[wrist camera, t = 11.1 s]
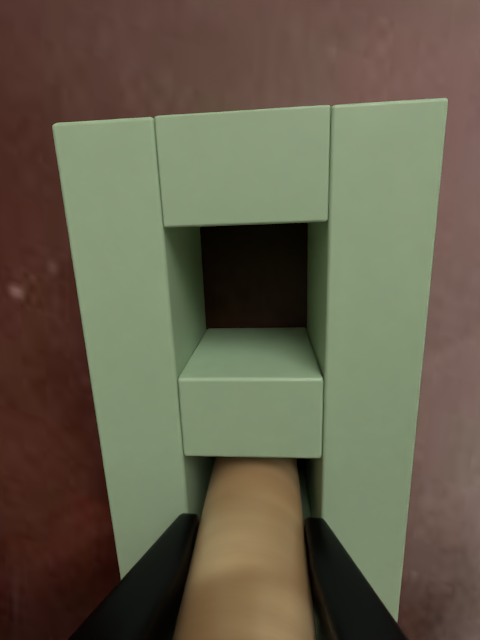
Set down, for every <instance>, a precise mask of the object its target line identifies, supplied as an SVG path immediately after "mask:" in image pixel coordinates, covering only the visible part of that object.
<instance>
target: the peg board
mask: <svg viewBox="0 0 480 640" xmlns="http://www.w3.org/2000/svg"><path fill="white" fill-rule="evenodd" d="M447 107H448V99H446V98H435V99H419V100H403V101H388V102H372V103H357V104H341V105H334V106H332V107H331V108H330V106H329V105H319V106H303V107H288V108H272V109H257V110H241V111H226V112H210V113H195V114H179V115H163V116H156V117H155V119H154V118H151V117H142V118H126V119H111V120H95V121H80V122H64V123H55V124H53V127H52V129H53V135H54V142H55V149H56V155H57V162H58V168H59V175H60V182H61V188H62V195H63V201H64V208H65V215H66V221H67V228H68V234H69V241H70V247H71V254H72V261H73V267H74V274H75V280H76V287H77V294H78V300H79V307H80V313H81V320H82V327H83V333H84V340H85V346H86V353H87V359H88V366H89V373H90V379H91V386H92V392H93V399H94V406H95V412H96V419H97V425H98V432H99V439H100V445H101V452H102V458H103V465H104V471H105V478H106V485H107V491H108V498H109V504H110V511H111V518H112V524H113V531H114V537H115V544H116V551H117V557H118V564H119V570H120V577H121V580H122V578H123V577H124V576H125V575H126V574H127V573H128V572H129V571H130V569H131V568H132V567H133V566H134V565H135V564H136V563H137V562H138V561H139V559H140V558H141V557H142V556H143V555H144V554H145V553H146V552H147V551H148V549H149V548H150V547H151V546H152V545H153V544H154V543H155V542H156V540H157V539H158V538H159V537H160V536H161V535H162V534H163V533H164V532H165V530H166V529H167V528H168V527H169V526H170V525H171V524H172V523H173V522H174V520H175V519H176V518H177V517H178V516H179V515H180V514H182V513H194V514H197V515H198V516H199V522H200V519H201V515H202V511H203V506H204V502H205V498H206V494H207V489H208V485H209V481H210V477H211V472H212V468H213V464H214V457H262V458H305V470H304V469H298V475H299V484H300V493H301V502H302V511H303V520H304V529H305V519H306V518H307V517H321V518H323V519H324V520H325V521H326V522H327V524H328V525H329V527H330V528H331V529H332V531H333V532H334V534H335V535H336V537H337V538H338V539H339V541H340V542H341V544H342V545H343V547H344V548H345V549H346V551H347V552H348V554H349V555H350V557H351V558H352V559H353V561H354V562H355V564H356V565H357V567H358V568H359V569H360V571H361V572H362V574H363V575H364V577H365V578H366V579H367V581H368V582H369V584H370V585H371V587H372V588H373V589H374V591H375V592H376V594H377V595H378V597H379V598H380V599H381V601H382V602H383V604H384V605H385V607H386V608H387V609H388V611H389V612H390V614H391V615H392V617H393V618H394V619H395V621H396V622H397V620H398V610H399V600H400V589H401V579H402V569H403V559H404V548H405V538H406V528H407V518H408V507H409V497H410V487H411V477H412V466H413V456H414V446H415V436H416V425H417V415H418V405H419V395H420V384H421V374H422V364H423V354H424V343H425V333H426V323H427V313H428V302H429V292H430V282H431V272H432V261H433V251H434V241H435V230H436V220H437V210H438V200H439V189H440V179H441V169H442V159H443V148H444V138H445V128H446V118H447ZM283 223H308V260H307V329H306V328H304V327H289V328H209V329H207V330H206V316H205V300H204V284H203V268H202V251H201V235H200V227H201V226H229V225H256V224H283Z"/></svg>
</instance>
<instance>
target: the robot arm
mask: <svg viewBox="0 0 480 640" xmlns="http://www.w3.org/2000/svg"><path fill="white" fill-rule="evenodd" d="M199 523H200V522H199V516H198V515H197V514H194V513H182V514H180V515H179V516H178V517H177V518H176V519H175V520H174V522H173V523H172V524H171V525H170V526H169V527H168V528H167V529H166V530H165V532H164V533H163V534H162V535H161V536H160V537H159V538H158V539H157V540H156V542H155V543H154V544H153V545H152V546H151V547H150V548H149V549H148V551H147V552H146V553H145V554H144V555H143V556H142V557H141V558H140V559H139V561H138V562H137V563H136V564H135V565H134V566H133V567H132V568H131V569H130V571H129V572H128V573H127V574H126V575H125V576H124V577H123V578H122V580H121V581H120V582H119V583H118V584H117V585H116V586H115V587H114V588H113V590H112V591H111V592H110V593H109V594H108V595H107V596H106V597H105V598H104V600H103V601H102V602H101V603H100V604H99V605H98V606H97V607H96V609H95V610H94V611H93V612H92V613H91V614H90V615H89V616H88V617H87V619H86V620H85V621H84V622H83V623H82V624H81V625H80V626H79V628H78V629H77V630H76V631H75V632H74V633H73V634H72V635H71V636H70V638H69V639H68V640H172V638H173V634H174V630H175V625H176V621H177V617H178V613H179V608H180V604H181V600H182V596H183V591H184V587H185V583H186V579H187V574H188V570H189V566H190V562H191V557H192V553H193V549H194V545H195V540H196V536H197V532H198V528H199ZM305 538H306V547H307V556H308V565H309V574H310V583H311V592H312V601H313V610H314V619H315V628H316V637H317V640H409V639H408V638H407V637H406V635H405V634H404V632H403V631H402V629H401V628H400V627H399V625H398V624H397V622H396V621H395V619H394V618H393V617H392V615H391V614H390V612H389V611H388V609H387V608H386V607H385V605H384V604H383V602H382V601H381V599H380V598H379V597H378V595H377V594H376V592H375V591H374V589H373V588H372V587H371V585H370V584H369V582H368V581H367V579H366V578H365V577H364V575H363V574H362V572H361V571H360V569H359V568H358V567H357V565H356V564H355V562H354V561H353V559H352V558H351V557H350V555H349V554H348V552H347V551H346V549H345V548H344V547H343V545H342V544H341V542H340V541H339V539H338V538H337V537H336V535H335V534H334V532H333V531H332V529H331V528H330V527H329V525H328V524H327V522H326V521H325V520H324V519H323V518H321V517H307V518H306V519H305Z"/></svg>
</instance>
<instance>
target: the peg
mask: <svg viewBox="0 0 480 640" xmlns="http://www.w3.org/2000/svg"><path fill="white" fill-rule="evenodd" d="M172 640H317V637H316V628H315V619H314V610H313V601H312V592H311V583H310V574H309V565H308V556H307V547H306V538H305V529H304V520H303V511H302V502H301V493H300V484H299V475H298V466H297V458H262V457H215V460H214V464H213V468H212V472H211V477H210V481H209V485H208V489H207V494H206V498H205V502H204V506H203V511H202V515H201V519H200V523H199V528H198V532H197V536H196V540H195V545H194V549H193V553H192V557H191V562H190V566H189V570H188V574H187V579H186V583H185V587H184V591H183V596H182V600H181V604H180V608H179V613H178V617H177V621H176V625H175V630H174V634H173V638H172Z"/></svg>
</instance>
